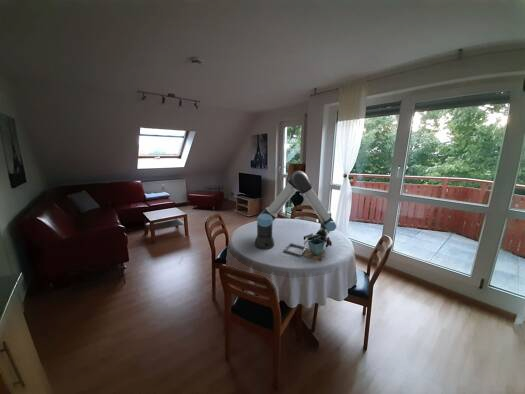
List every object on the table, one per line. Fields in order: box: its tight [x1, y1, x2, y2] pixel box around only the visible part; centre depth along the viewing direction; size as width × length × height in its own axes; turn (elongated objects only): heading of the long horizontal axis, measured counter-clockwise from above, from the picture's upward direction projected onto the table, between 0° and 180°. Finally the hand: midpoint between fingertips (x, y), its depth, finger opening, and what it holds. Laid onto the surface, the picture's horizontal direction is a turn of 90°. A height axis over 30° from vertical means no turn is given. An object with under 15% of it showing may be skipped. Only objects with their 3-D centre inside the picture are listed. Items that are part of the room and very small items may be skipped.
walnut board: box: [303, 247, 326, 262], centre depth 149 cm, size 12×12×1 cm
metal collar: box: [283, 242, 308, 258], centre depth 154 cm, size 13×13×2 cm
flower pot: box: [307, 238, 325, 255], centre depth 147 cm, size 9×9×9 cm
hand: (314, 245), depth 144 cm, fingers open, 13 cm apart
